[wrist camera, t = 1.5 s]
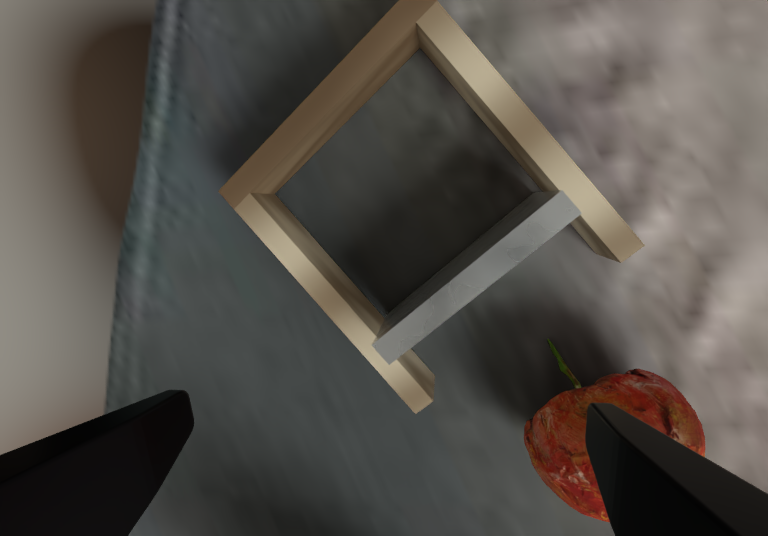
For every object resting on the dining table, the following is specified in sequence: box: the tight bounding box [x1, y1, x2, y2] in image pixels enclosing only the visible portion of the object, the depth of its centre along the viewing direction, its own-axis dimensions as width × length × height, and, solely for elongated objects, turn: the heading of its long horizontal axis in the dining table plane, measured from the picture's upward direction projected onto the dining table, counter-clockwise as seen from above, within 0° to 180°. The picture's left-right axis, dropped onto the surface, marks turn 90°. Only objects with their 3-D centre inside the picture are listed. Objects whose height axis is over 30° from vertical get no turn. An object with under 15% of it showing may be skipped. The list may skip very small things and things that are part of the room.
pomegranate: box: [524, 339, 705, 522], centre depth 19 cm, size 7×7×10 cm
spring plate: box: [372, 190, 582, 365], centre depth 19 cm, size 1×10×5 cm, turn 131°
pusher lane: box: [218, 0, 645, 414], centre depth 20 cm, size 15×13×3 cm
